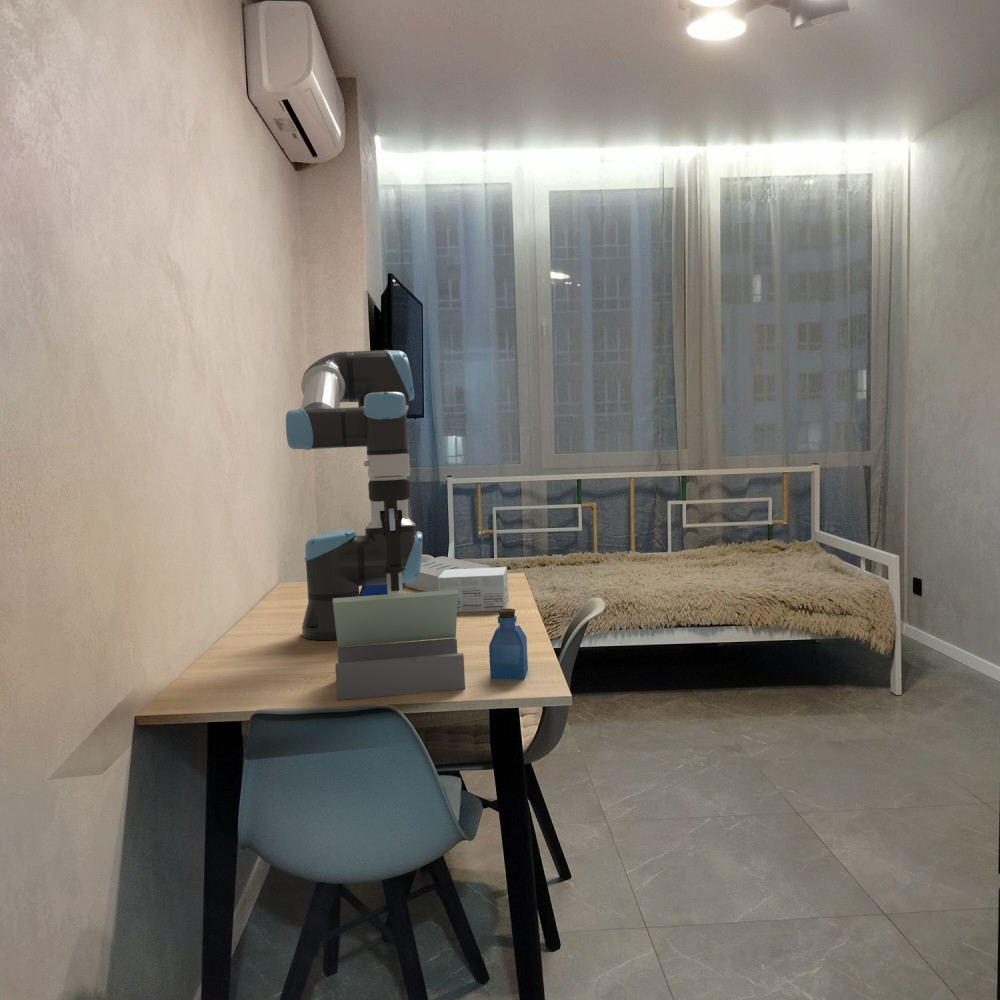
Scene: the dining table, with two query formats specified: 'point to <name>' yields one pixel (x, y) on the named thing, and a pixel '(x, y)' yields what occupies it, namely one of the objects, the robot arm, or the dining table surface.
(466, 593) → the supplement box
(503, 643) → the perfume bottle
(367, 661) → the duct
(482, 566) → the warehouse
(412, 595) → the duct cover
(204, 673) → the dining table surface
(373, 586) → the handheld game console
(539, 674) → the dining table surface
